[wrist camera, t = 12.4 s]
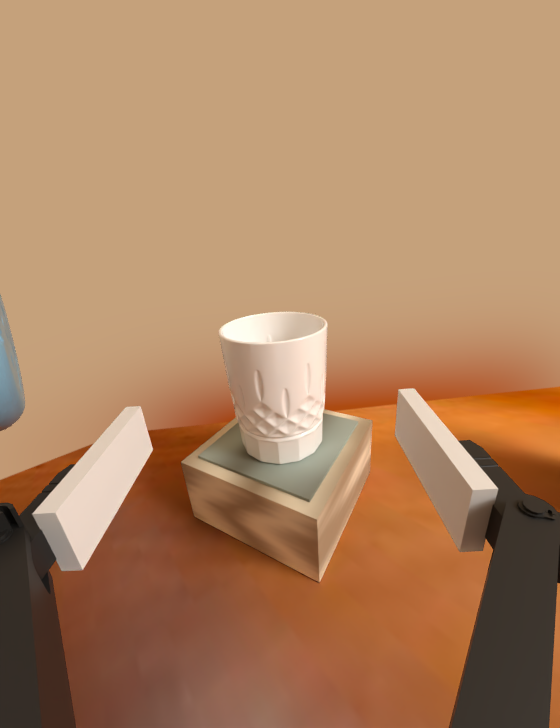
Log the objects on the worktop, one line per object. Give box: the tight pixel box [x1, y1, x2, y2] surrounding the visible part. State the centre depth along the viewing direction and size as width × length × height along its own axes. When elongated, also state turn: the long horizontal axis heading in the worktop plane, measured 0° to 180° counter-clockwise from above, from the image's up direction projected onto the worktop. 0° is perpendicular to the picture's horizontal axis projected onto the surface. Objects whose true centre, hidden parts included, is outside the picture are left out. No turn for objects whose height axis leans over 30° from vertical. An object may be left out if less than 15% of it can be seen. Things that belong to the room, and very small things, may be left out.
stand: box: [181, 409, 372, 583], centre depth 28 cm, size 12×12×6 cm
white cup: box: [218, 312, 327, 464], centre depth 25 cm, size 8×8×10 cm
